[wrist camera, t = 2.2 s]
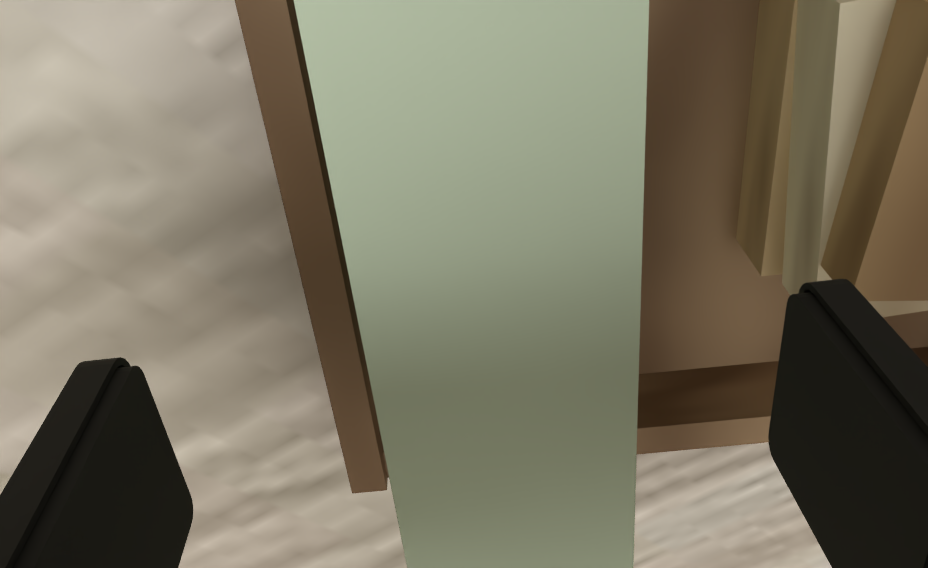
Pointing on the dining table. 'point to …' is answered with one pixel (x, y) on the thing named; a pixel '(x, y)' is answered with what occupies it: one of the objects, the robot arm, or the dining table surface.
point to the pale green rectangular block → (494, 262)
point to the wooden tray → (663, 245)
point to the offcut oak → (768, 138)
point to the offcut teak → (889, 173)
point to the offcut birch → (829, 127)
